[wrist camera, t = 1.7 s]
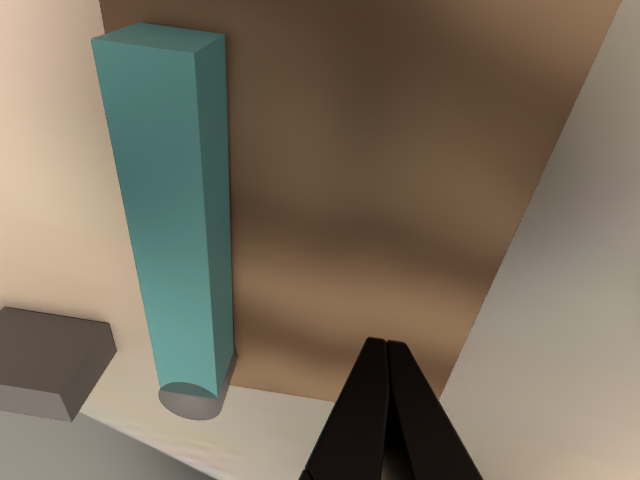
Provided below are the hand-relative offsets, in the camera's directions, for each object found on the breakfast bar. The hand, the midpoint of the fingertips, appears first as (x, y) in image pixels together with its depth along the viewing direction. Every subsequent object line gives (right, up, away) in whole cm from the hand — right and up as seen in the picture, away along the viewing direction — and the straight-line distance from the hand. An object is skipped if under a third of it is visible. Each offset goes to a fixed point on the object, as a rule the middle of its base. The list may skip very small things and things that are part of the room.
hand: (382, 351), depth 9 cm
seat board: (-1, +3, +9) cm, 9 cm away
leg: (-6, +2, +7) cm, 10 cm away
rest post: (-16, -3, +15) cm, 22 cm away
